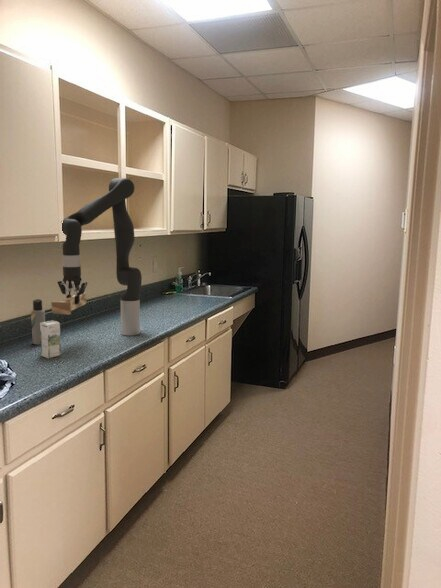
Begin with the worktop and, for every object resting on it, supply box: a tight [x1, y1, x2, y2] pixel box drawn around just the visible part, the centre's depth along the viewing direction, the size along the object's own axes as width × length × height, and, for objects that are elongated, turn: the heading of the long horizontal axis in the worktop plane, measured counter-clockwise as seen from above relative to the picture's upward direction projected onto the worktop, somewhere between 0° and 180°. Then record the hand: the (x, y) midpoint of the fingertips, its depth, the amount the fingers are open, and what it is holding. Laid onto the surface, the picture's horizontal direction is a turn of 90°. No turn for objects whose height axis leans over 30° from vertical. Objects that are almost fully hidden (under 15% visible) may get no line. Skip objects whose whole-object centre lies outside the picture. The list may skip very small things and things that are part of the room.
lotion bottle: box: [30, 298, 46, 346], centre depth 206 cm, size 6×6×20 cm
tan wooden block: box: [50, 292, 88, 315], centre depth 202 cm, size 20×8×5 cm, turn 167°
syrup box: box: [40, 320, 62, 359], centre depth 188 cm, size 6×6×14 cm
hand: (73, 303), depth 203 cm, fingers closed on tan wooden block, 3 cm apart
